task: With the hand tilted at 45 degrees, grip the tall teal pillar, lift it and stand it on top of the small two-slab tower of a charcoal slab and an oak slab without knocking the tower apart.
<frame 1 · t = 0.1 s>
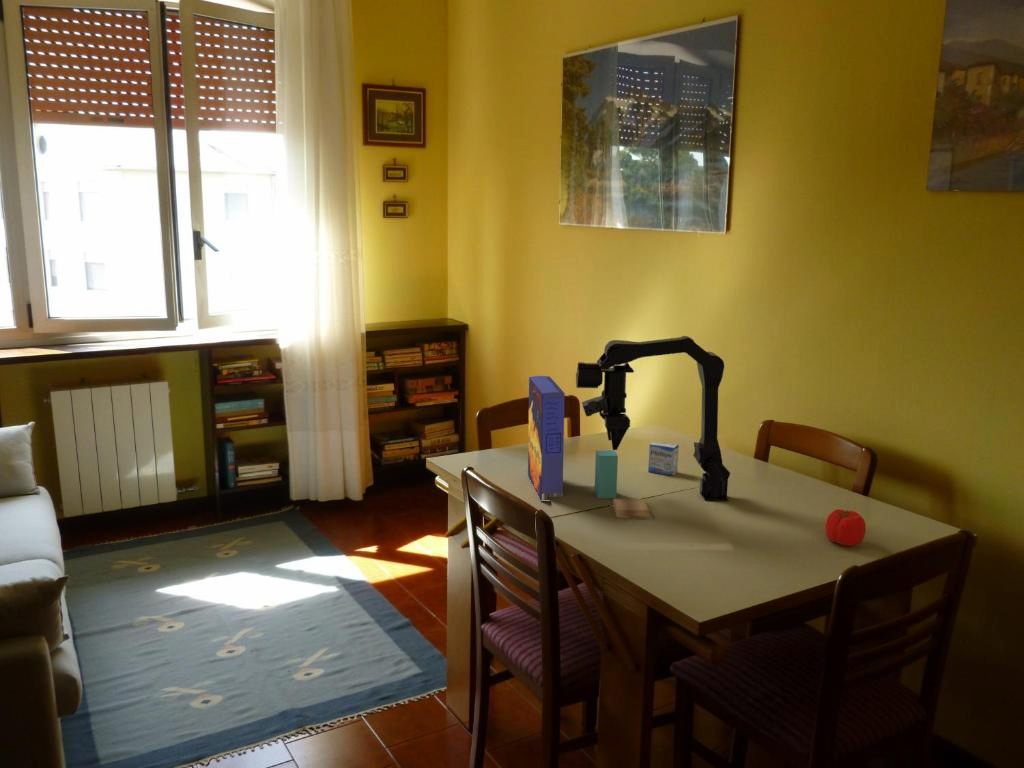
hand: (612, 444, 228), 15 cm above the table, tool pointing down, fingers open, 9 cm apart
cereal box: (544, 488, 238), on the table
top slab: (630, 511, 216), point 1 cm above the table, touching base slab
pillar: (605, 499, 229), on the table
medicine box: (662, 472, 253), on the table
tomato: (843, 544, 200), on the table
base slab: (630, 519, 217), on the table, touching top slab
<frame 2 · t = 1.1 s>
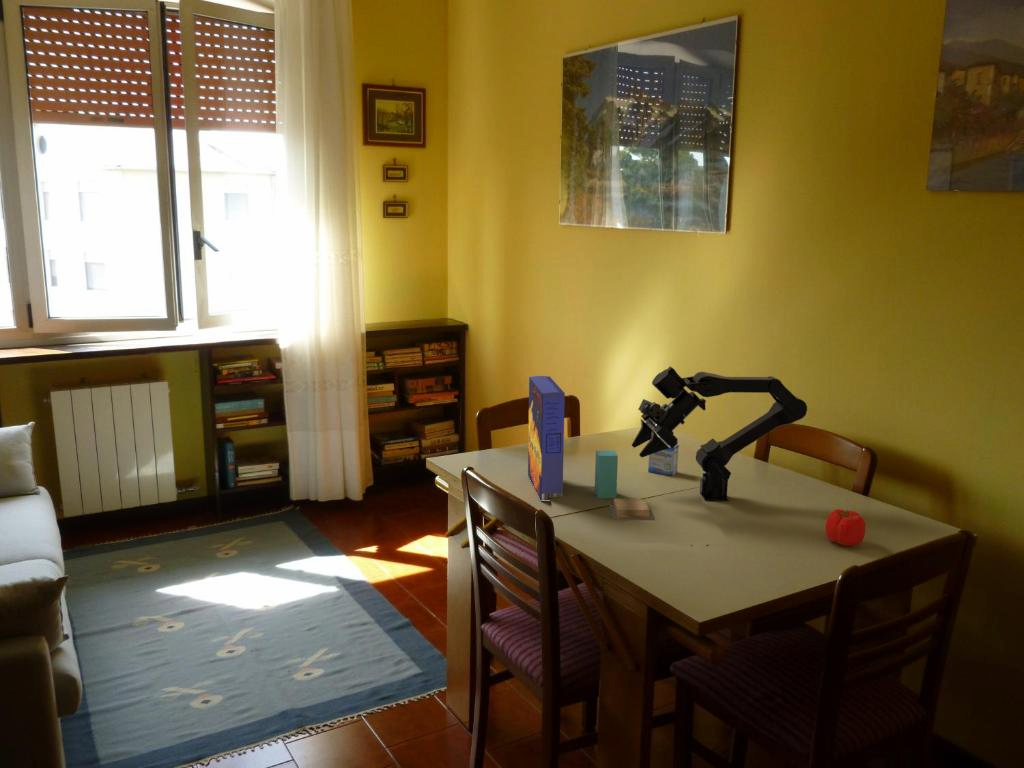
hand: (636, 451, 227), 13 cm above the table, tool tilted 45°, fingers open, 9 cm apart
nothing on the table moved.
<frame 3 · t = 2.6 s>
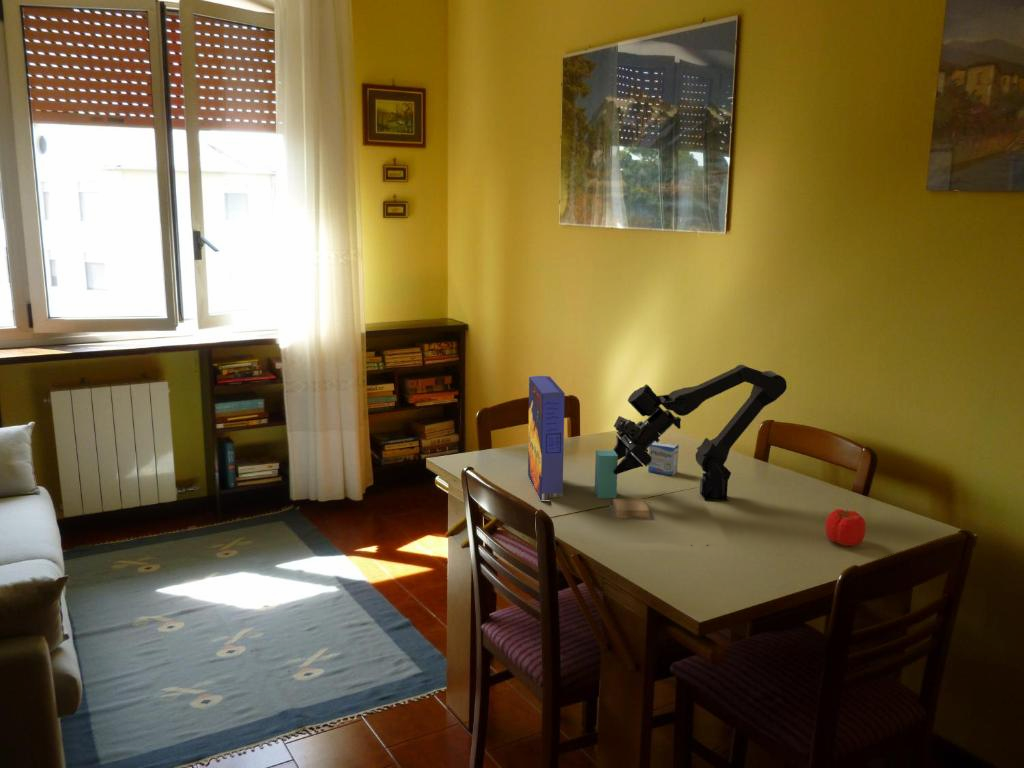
hand: (610, 467, 227), 9 cm above the table, tool tilted 45°, fingers open, 9 cm apart
nothing on the table moved.
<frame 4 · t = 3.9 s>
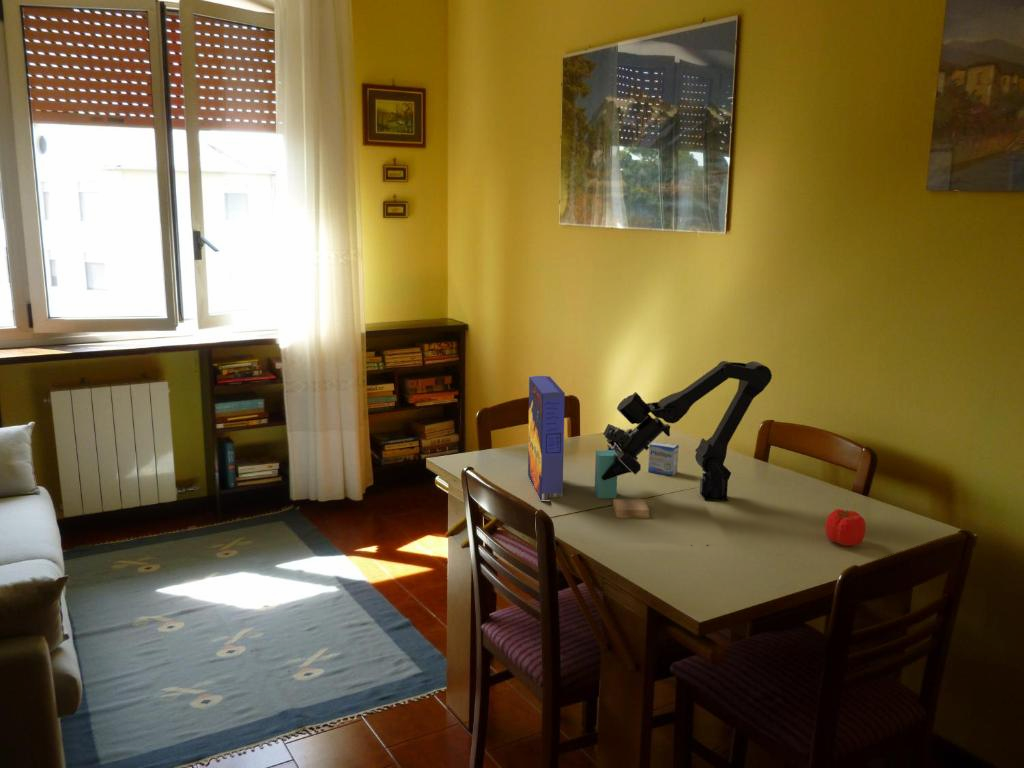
hand: (600, 475, 228), 7 cm above the table, tool tilted 45°, fingers closed on pillar, 5 cm apart
pillar: (605, 499, 229), on the table, touching gripper
everything else where it was.
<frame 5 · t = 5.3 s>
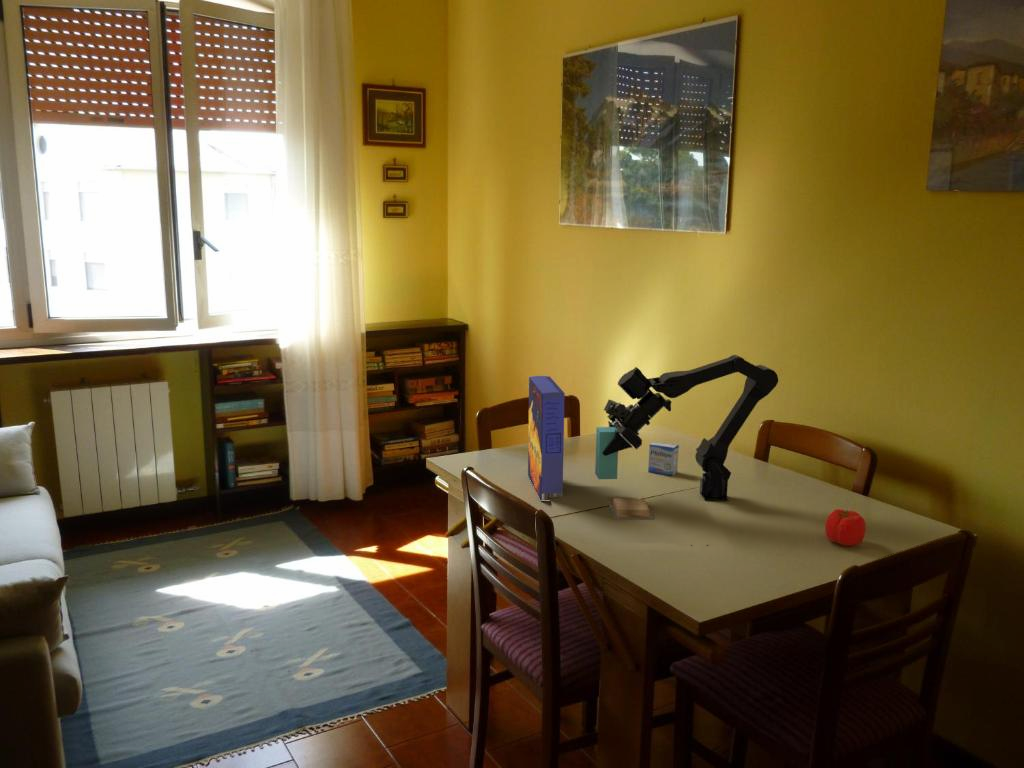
hand: (601, 451, 226), 13 cm above the table, tool tilted 45°, fingers closed on pillar, 5 cm apart
pillar: (606, 476, 228), point 7 cm above the table, touching gripper
everything else where it was.
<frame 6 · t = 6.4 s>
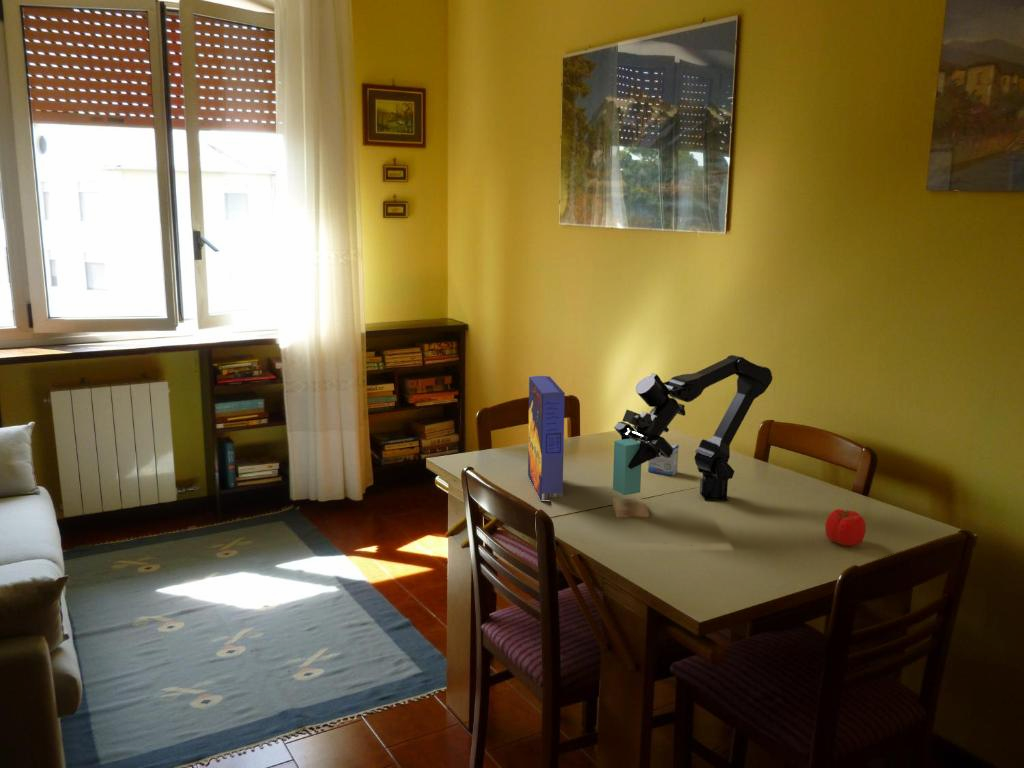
hand: (623, 464, 215), 13 cm above the table, tool tilted 45°, fingers closed on pillar, 5 cm apart
pillar: (626, 491, 217), point 6 cm above the table, touching gripper
everything else where it was.
when the fingers open (12 cm above the table, at t = 7.5 s): pillar drops 1 cm, resting on top slab.
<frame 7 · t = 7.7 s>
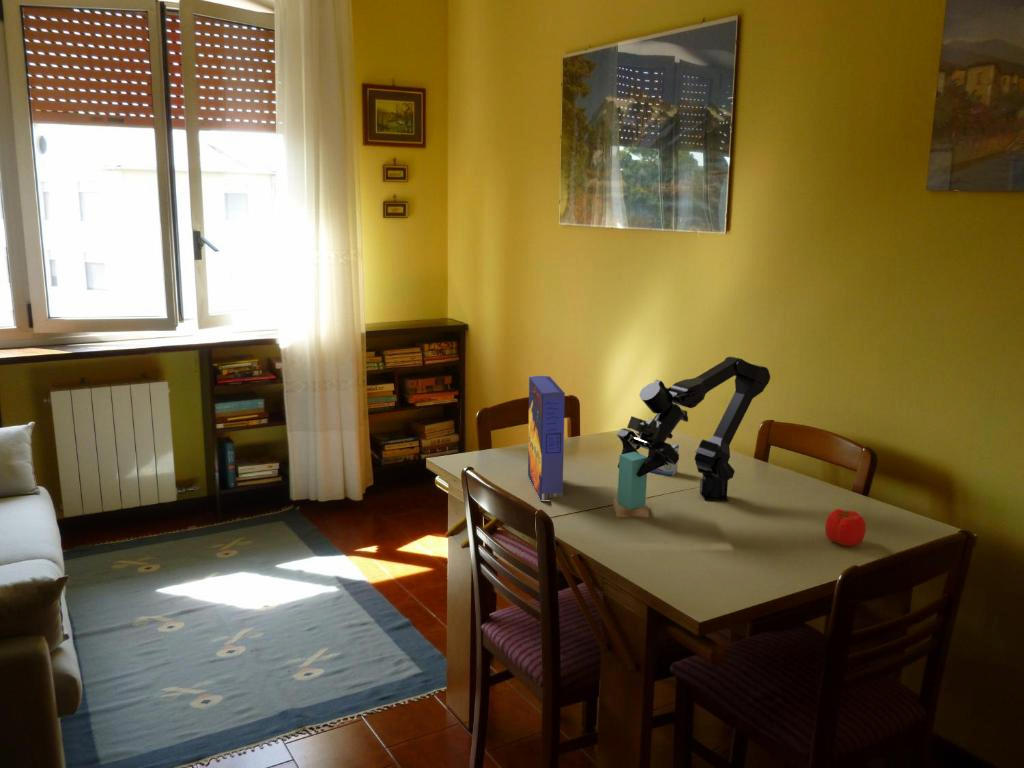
hand: (628, 472, 213), 12 cm above the table, tool tilted 45°, fingers open, 7 cm apart
top slab: (630, 511, 216), point 1 cm above the table, touching base slab, pillar
pillar: (631, 504, 215), point 3 cm above the table, touching top slab
everything else where it was.
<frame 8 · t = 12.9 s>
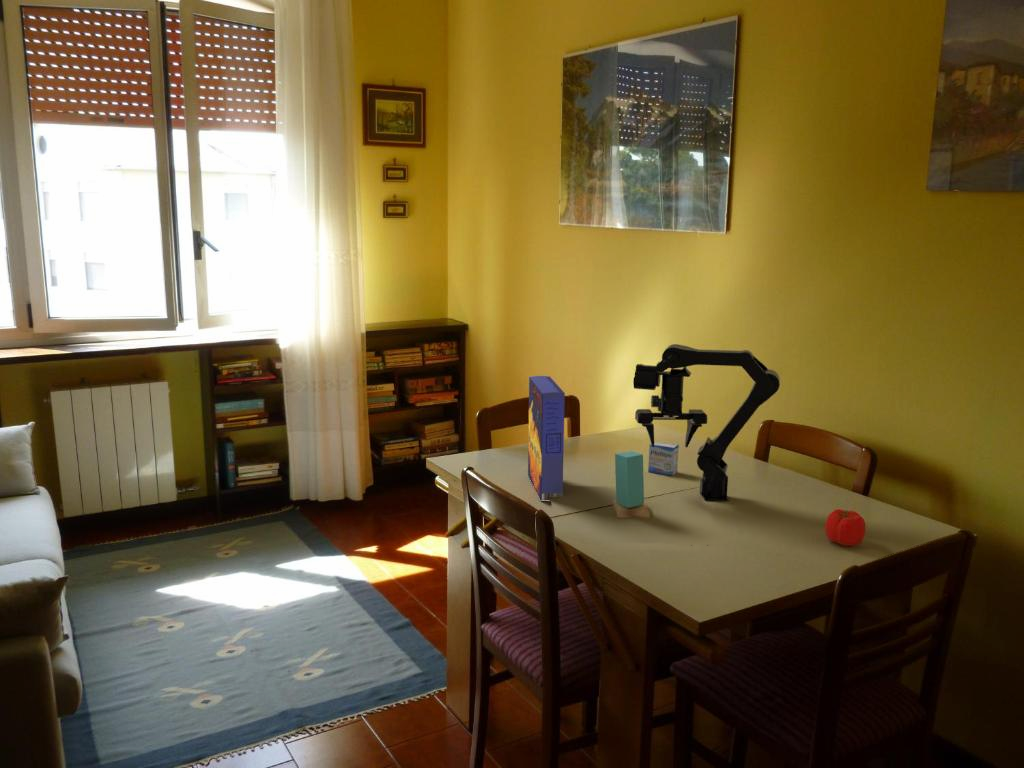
hand: (669, 446, 232), 13 cm above the table, tool pointing down, fingers open, 9 cm apart
at the end: pillar 0.5 cm off-centre on the top slab, point 2.2 cm above the top slab's base; pillar tilted 5°; top slab inside the target area (0.2 cm from its centre), point 1.2 cm above the table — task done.
